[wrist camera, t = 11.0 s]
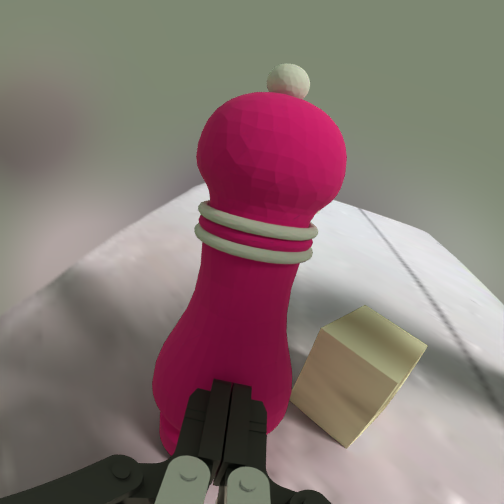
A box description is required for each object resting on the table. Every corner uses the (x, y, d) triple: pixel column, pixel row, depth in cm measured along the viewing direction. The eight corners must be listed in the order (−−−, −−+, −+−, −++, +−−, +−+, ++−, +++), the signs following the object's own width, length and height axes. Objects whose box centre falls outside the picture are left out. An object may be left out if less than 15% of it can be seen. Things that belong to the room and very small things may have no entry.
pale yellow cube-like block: (328, 366, 25) (359, 301, 23) (384, 409, 21) (427, 345, 19) (282, 395, 21) (314, 323, 19) (346, 449, 17) (397, 383, 15)
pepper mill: (140, 402, 17) (186, 58, 12) (238, 391, 21) (308, 98, 16) (172, 493, 11) (258, 2, 6) (290, 463, 15) (413, 92, 10)
